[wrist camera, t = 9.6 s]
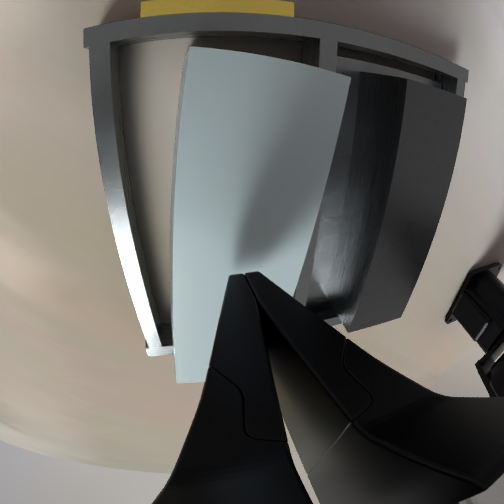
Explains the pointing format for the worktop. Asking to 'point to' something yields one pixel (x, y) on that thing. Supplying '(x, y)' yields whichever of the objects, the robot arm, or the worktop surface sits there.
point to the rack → (342, 167)
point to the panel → (243, 182)
